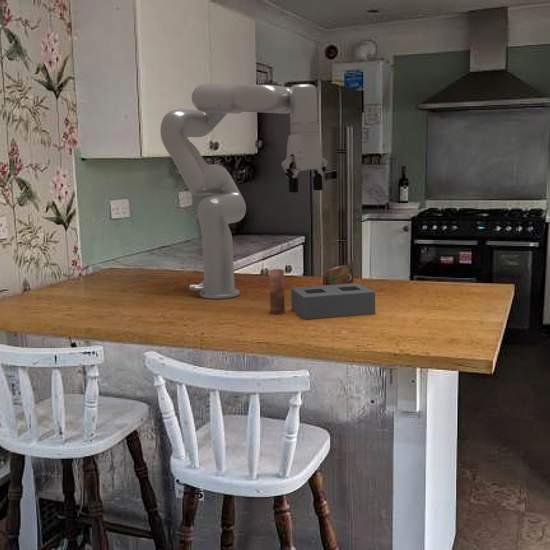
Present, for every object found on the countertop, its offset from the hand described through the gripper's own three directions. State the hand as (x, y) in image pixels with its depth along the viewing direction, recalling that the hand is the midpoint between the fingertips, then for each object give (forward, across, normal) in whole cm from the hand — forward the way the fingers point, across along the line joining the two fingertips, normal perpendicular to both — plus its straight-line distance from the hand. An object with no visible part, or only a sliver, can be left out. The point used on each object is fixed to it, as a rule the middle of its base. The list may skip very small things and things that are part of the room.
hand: (306, 191), depth 197 cm
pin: (+33, +14, +1) cm, 36 cm away
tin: (+33, -17, -4) cm, 38 cm away
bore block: (+33, +2, +11) cm, 35 cm away
